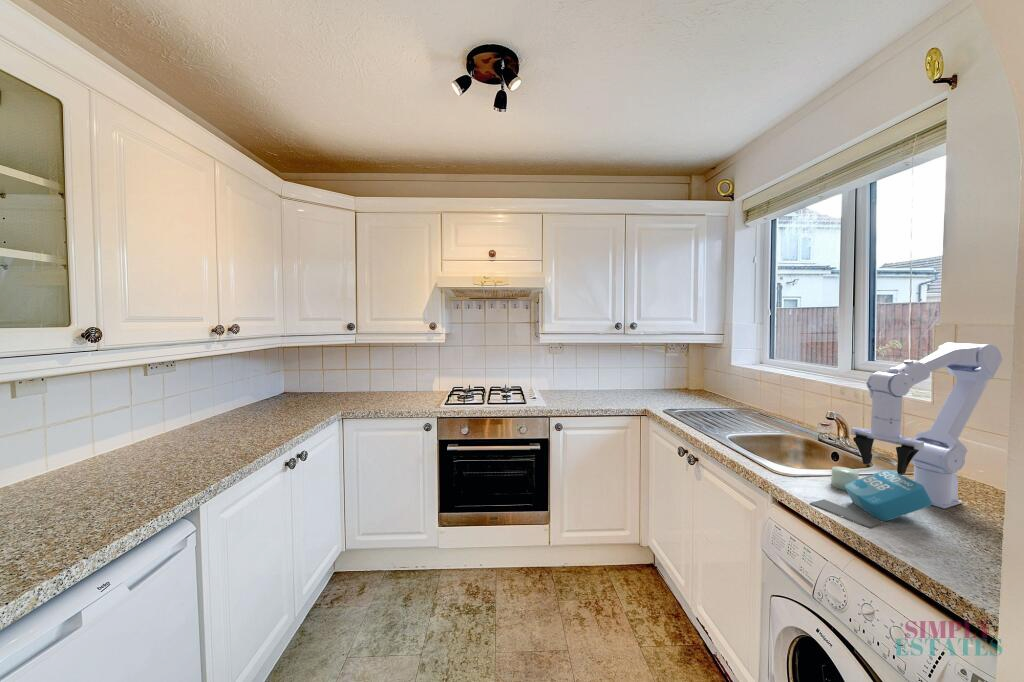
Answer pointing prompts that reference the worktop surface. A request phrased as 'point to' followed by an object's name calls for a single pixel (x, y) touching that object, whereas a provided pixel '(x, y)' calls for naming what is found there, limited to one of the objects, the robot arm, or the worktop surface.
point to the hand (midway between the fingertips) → (883, 468)
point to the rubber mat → (847, 513)
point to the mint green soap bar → (843, 476)
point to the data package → (888, 495)
